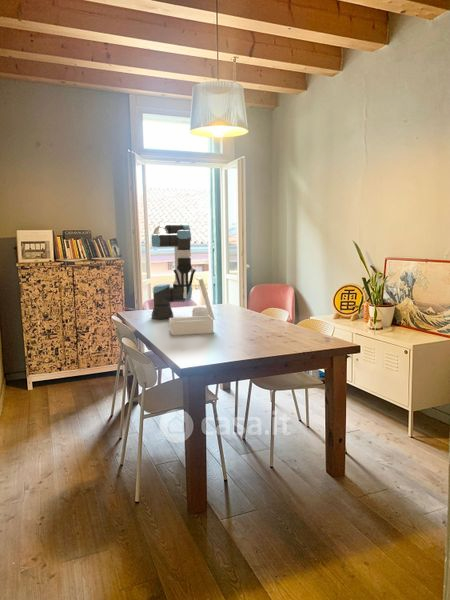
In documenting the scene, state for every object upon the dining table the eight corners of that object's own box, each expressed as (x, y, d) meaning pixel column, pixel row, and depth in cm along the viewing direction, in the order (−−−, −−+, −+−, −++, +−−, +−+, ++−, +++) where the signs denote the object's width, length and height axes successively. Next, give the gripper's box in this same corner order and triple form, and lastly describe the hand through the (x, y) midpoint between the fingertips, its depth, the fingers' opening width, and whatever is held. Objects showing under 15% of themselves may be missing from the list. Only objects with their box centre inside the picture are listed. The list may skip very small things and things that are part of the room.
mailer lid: (195, 277, 264) (198, 276, 265) (206, 316, 269) (210, 315, 270) (199, 279, 251) (202, 278, 252) (211, 320, 256) (214, 319, 257)
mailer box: (169, 331, 265) (169, 318, 264) (208, 328, 270) (208, 315, 269) (172, 335, 252) (171, 322, 251) (213, 333, 258) (213, 319, 257)
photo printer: (209, 325, 280) (208, 306, 278) (208, 327, 276) (208, 307, 274) (193, 325, 281) (192, 306, 279) (192, 327, 277) (191, 307, 275)
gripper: (173, 257, 249) (174, 299, 252) (196, 257, 252) (197, 298, 255) (172, 257, 256) (173, 297, 260) (194, 256, 259) (195, 296, 263)
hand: (185, 298), depth 258 cm, fingers closed
